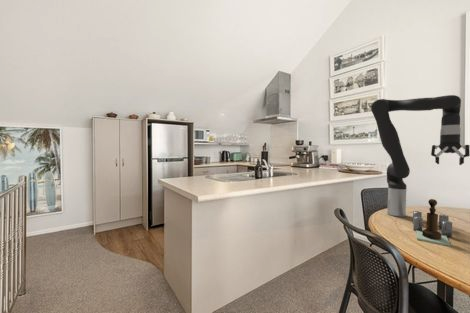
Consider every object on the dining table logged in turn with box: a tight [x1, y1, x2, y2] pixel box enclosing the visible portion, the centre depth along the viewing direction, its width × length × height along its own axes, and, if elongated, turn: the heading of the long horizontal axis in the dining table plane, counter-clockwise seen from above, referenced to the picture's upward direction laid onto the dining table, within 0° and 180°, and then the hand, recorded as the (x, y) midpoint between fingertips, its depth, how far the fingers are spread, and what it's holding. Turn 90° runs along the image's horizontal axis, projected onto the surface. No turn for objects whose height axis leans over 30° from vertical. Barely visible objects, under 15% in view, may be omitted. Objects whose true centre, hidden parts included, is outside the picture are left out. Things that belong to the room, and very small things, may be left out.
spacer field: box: [412, 210, 453, 239], centre depth 111 cm, size 14×16×7 cm
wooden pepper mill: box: [422, 198, 442, 240], centre depth 100 cm, size 7×6×18 cm
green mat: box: [415, 230, 451, 247], centre depth 100 cm, size 11×12×1 cm
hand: (449, 164), depth 113 cm, fingers open, 8 cm apart
